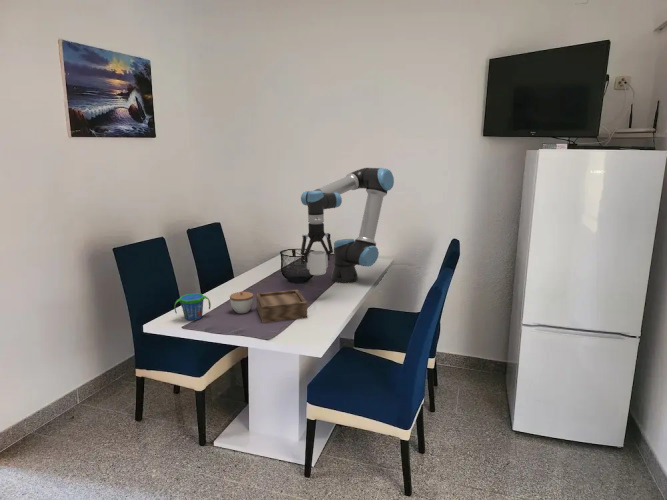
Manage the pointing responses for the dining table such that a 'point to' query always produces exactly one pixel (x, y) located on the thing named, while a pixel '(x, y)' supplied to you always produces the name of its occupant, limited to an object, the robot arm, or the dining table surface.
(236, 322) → the dining table surface
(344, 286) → the dining table surface
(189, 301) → the snack cup
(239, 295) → the lidded jar
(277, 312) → the walnut box
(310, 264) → the mug
